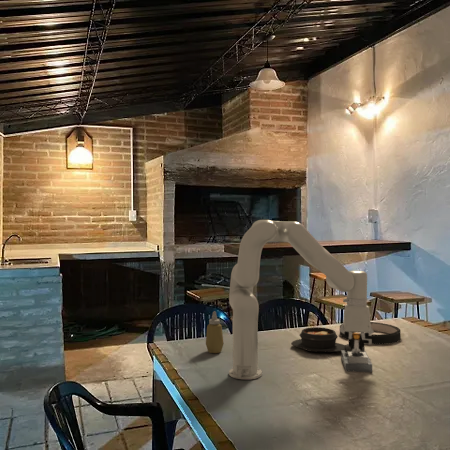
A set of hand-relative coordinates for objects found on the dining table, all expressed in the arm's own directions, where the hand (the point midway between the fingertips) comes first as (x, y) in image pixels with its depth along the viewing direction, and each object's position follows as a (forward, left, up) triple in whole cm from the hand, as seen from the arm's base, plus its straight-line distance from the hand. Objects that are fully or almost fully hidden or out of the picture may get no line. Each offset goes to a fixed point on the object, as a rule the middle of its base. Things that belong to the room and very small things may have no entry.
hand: (356, 348), depth 181 cm
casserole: (+25, +14, -8) cm, 30 cm away
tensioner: (+5, -1, -8) cm, 9 cm away
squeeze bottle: (+15, +59, -8) cm, 62 cm away
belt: (+51, -12, -9) cm, 53 cm away
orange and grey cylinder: (0, 0, -3) cm, 3 cm away
